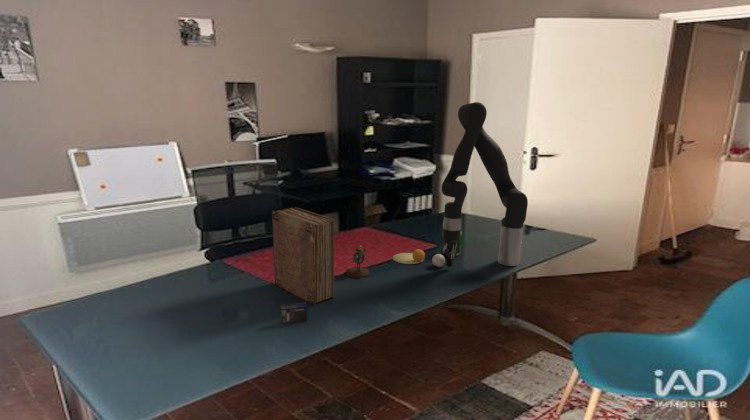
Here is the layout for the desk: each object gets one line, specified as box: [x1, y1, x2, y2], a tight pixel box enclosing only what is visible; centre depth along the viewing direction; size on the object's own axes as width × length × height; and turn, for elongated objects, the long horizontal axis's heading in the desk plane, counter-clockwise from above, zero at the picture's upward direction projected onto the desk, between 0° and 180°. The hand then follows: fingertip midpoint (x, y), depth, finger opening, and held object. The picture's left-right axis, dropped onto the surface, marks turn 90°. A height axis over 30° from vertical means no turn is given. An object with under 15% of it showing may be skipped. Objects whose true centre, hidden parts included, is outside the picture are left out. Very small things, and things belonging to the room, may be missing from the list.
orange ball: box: [412, 248, 426, 263], centre depth 217 cm, size 6×6×6 cm
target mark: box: [392, 252, 424, 265], centre depth 221 cm, size 14×14×1 cm
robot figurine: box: [345, 245, 371, 280], centre depth 200 cm, size 11×9×12 cm
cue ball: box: [431, 253, 446, 268], centre depth 211 cm, size 6×6×6 cm
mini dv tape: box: [280, 301, 308, 324], centre depth 160 cm, size 8×2×6 cm, turn 106°
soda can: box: [454, 230, 463, 257], centre depth 226 cm, size 8×8×12 cm
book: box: [271, 206, 335, 307], centre depth 180 cm, size 25×9×30 cm, turn 44°
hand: (449, 266), depth 208 cm, fingers closed
